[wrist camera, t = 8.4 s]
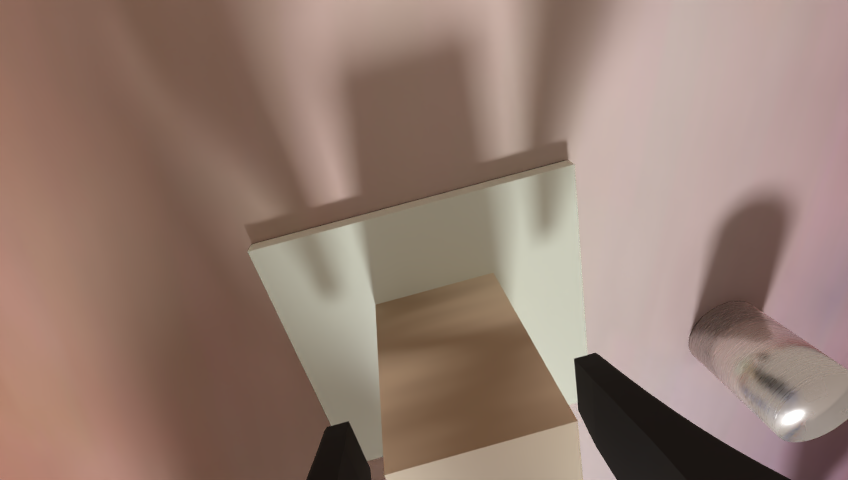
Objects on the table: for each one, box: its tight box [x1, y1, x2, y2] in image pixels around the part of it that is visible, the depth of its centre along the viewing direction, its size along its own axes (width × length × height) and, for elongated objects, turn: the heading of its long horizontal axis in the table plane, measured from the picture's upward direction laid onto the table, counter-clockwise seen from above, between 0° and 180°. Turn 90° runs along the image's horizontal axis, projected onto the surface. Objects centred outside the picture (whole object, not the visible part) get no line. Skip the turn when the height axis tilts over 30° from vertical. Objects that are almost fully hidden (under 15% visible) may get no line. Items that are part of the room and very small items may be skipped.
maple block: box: [375, 273, 583, 480], centre depth 12 cm, size 4×4×6 cm
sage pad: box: [248, 160, 588, 461], centre depth 15 cm, size 10×10×1 cm
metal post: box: [689, 301, 848, 442], centre depth 15 cm, size 3×3×4 cm
